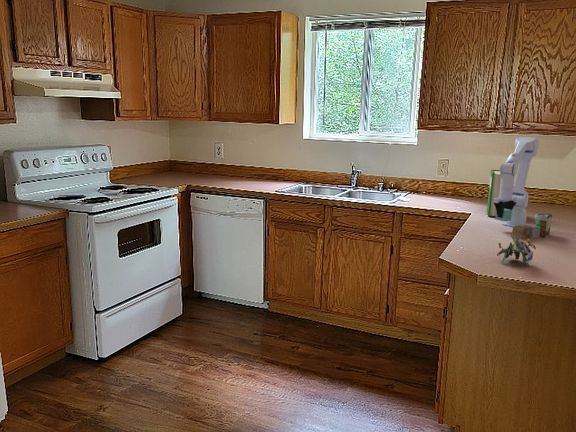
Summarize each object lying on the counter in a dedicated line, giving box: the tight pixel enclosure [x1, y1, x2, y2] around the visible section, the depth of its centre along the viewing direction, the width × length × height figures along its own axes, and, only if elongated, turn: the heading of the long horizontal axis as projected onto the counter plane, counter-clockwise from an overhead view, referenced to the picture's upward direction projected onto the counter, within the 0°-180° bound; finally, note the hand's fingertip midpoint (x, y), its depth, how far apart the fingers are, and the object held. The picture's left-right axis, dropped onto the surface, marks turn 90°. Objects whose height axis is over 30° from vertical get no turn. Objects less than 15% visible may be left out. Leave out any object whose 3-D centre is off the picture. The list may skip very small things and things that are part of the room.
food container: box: [534, 211, 553, 239], centre depth 236 cm, size 12×6×10 cm, turn 143°
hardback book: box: [486, 169, 504, 218], centre depth 282 cm, size 18×7×24 cm, turn 161°
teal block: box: [494, 209, 512, 222], centre depth 243 cm, size 5×5×5 cm
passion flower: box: [496, 233, 537, 268], centre depth 188 cm, size 13×12×14 cm
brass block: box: [511, 225, 530, 240], centre depth 230 cm, size 5×5×5 cm
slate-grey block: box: [524, 224, 541, 239], centre depth 233 cm, size 5×5×5 cm
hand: (503, 216), depth 243 cm, fingers closed on teal block, 5 cm apart
